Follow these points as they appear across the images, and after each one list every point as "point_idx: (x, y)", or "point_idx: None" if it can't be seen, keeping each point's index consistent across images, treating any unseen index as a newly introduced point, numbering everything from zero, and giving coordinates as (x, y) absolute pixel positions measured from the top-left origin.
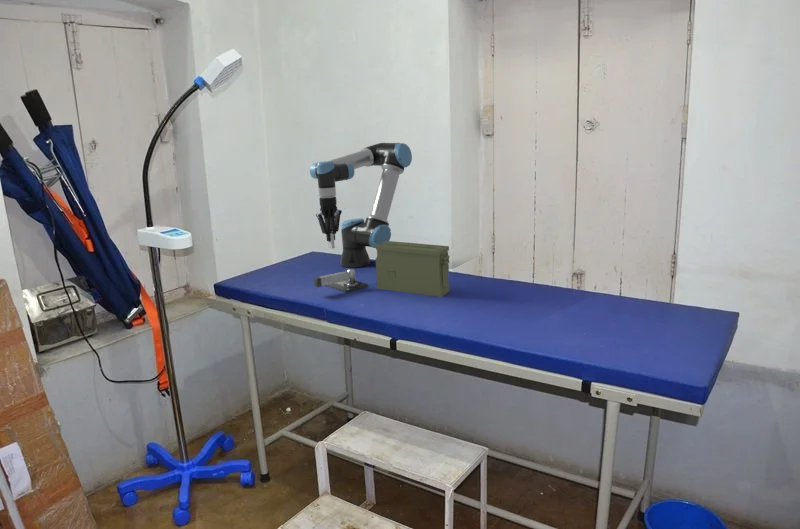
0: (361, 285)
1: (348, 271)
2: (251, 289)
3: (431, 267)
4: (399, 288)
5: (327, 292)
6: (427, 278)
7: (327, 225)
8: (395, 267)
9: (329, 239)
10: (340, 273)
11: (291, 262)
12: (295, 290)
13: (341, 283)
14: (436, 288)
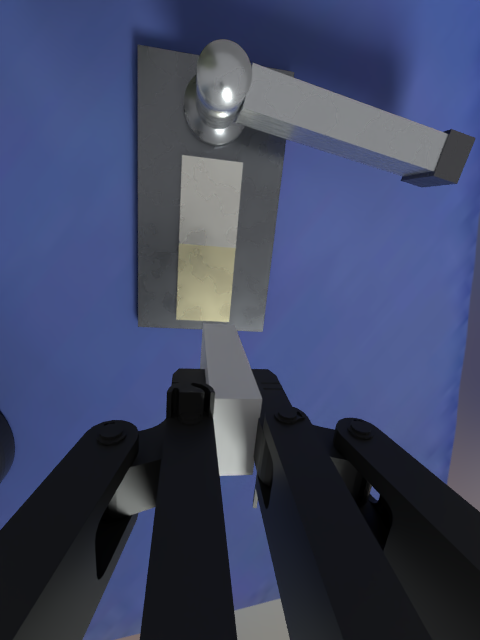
0: (177, 62)
1: (250, 77)
2: (440, 448)
3: None
4: None
5: (334, 174)
6: None
7: (377, 564)
8: None
9: (263, 380)
10: (313, 97)
11: (141, 617)
12: (380, 319)
13: (232, 189)
14: None
